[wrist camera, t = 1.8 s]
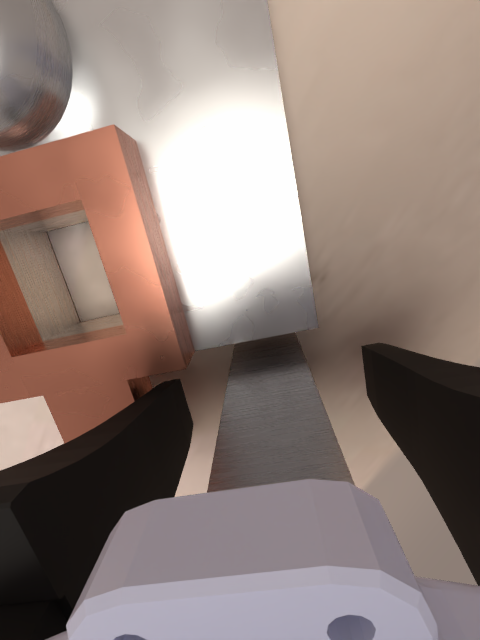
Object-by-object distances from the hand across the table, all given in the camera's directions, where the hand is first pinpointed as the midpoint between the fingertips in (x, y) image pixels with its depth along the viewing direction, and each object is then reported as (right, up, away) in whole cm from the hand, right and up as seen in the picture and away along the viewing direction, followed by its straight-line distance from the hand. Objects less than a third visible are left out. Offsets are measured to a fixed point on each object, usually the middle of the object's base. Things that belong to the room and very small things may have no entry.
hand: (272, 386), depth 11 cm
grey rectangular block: (0, +1, +2) cm, 2 cm away
